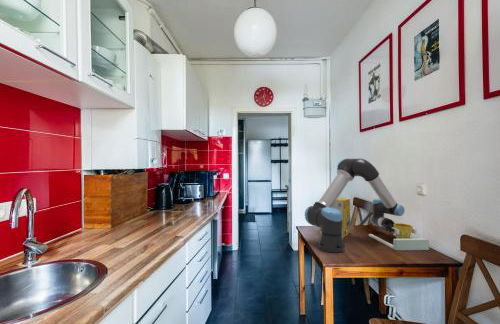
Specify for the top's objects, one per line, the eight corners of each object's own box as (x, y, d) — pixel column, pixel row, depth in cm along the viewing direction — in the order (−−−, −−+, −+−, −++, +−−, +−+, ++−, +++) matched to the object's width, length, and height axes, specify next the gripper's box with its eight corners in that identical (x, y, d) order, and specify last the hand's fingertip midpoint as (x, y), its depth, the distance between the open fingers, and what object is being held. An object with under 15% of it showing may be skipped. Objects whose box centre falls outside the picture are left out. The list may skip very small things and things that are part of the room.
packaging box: (349, 233, 194) (350, 199, 194) (343, 238, 181) (343, 201, 181) (327, 230, 203) (328, 197, 203) (319, 234, 190) (320, 199, 190)
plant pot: (416, 242, 163) (416, 226, 163) (403, 243, 160) (404, 227, 160) (401, 237, 173) (401, 222, 173) (389, 239, 170) (389, 223, 170)
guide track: (368, 235, 188) (368, 227, 188) (396, 235, 189) (396, 226, 189) (396, 250, 156) (396, 240, 156) (428, 249, 158) (429, 239, 158)
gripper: (401, 228, 185) (425, 237, 163) (370, 229, 184) (389, 238, 161) (401, 217, 185) (425, 225, 163) (370, 218, 184) (389, 226, 161)
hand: (407, 232), depth 162 cm, fingers closed on plant pot, 10 cm apart
